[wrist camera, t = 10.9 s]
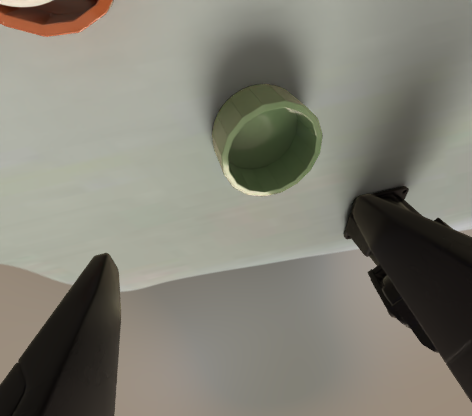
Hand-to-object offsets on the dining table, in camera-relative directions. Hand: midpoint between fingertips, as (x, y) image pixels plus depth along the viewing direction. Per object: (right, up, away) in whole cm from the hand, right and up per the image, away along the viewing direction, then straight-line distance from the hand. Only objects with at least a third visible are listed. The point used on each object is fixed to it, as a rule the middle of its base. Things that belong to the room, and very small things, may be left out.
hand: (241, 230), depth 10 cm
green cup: (+1, +7, +12) cm, 14 cm away
